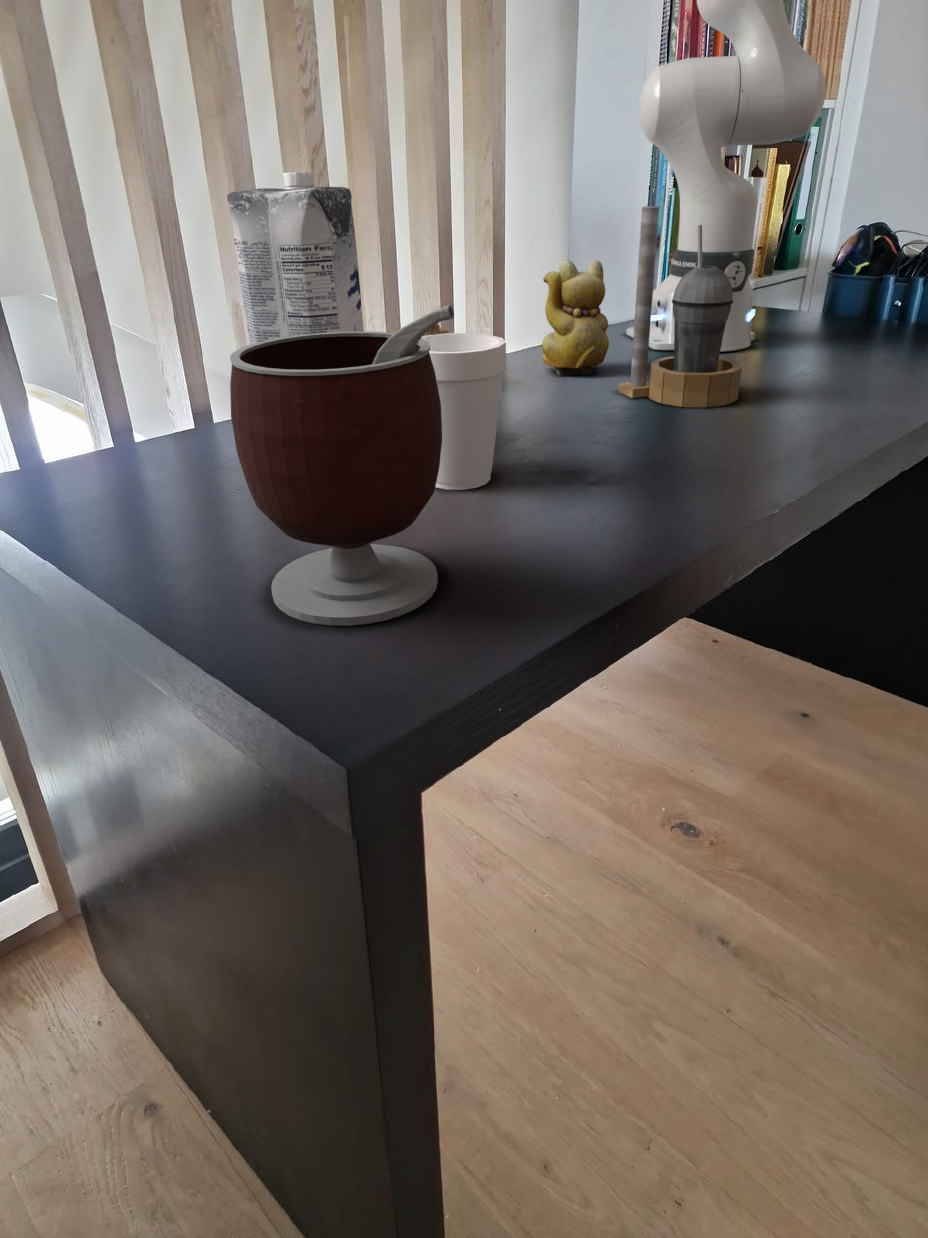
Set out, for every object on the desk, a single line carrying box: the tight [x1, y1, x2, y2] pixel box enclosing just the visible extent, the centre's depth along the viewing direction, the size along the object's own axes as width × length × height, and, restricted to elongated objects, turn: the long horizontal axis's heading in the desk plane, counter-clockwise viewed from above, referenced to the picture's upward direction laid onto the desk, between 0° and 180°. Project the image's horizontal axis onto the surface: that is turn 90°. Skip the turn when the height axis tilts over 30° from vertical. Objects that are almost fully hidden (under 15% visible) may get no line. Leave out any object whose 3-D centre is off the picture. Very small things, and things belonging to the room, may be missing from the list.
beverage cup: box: [672, 225, 733, 373], centre depth 102 cm, size 7×7×20 cm
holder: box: [618, 205, 743, 409], centre depth 101 cm, size 12×13×22 cm
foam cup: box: [421, 332, 507, 491], centre depth 79 cm, size 10×9×13 cm
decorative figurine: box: [541, 259, 610, 377], centre depth 117 cm, size 10×8×15 cm
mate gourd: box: [229, 304, 455, 627], centre depth 57 cm, size 16×14×20 cm
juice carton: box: [226, 171, 365, 345], centre depth 84 cm, size 9×10×27 cm
